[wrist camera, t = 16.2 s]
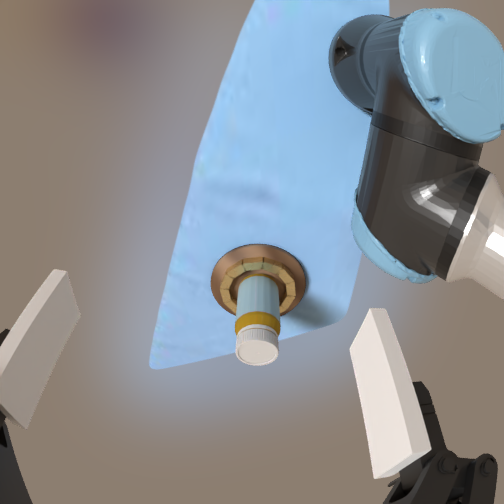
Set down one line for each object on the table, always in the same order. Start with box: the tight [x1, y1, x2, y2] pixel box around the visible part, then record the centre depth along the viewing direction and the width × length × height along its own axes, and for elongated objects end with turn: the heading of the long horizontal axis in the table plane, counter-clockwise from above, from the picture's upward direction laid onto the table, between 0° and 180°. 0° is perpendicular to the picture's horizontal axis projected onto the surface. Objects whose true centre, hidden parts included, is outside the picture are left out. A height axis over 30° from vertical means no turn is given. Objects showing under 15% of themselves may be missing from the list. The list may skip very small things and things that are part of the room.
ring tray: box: [211, 244, 306, 316], centre depth 55 cm, size 17×17×2 cm
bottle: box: [235, 274, 280, 366], centre depth 49 cm, size 7×7×15 cm
